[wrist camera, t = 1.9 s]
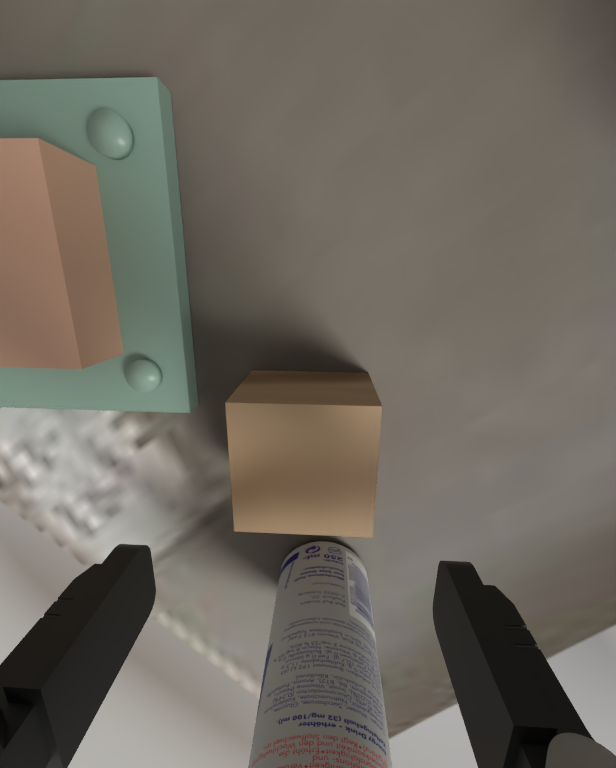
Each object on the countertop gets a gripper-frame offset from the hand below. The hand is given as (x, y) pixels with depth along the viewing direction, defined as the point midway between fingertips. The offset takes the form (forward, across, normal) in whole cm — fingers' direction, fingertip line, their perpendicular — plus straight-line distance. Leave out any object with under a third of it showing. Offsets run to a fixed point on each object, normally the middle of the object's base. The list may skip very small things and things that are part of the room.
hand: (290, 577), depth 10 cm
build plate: (+10, +13, -8) cm, 18 cm away
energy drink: (+10, -1, +10) cm, 14 cm away
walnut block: (+10, 0, 0) cm, 10 cm away
